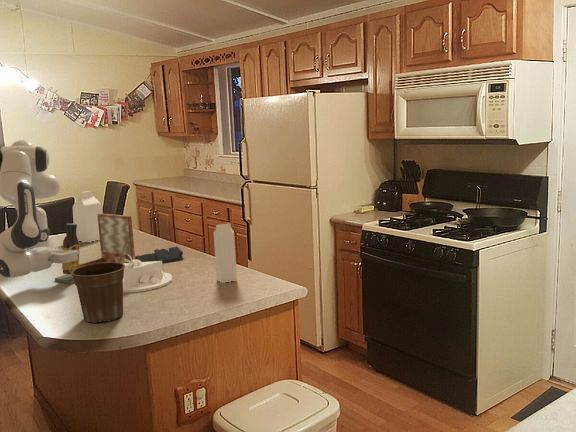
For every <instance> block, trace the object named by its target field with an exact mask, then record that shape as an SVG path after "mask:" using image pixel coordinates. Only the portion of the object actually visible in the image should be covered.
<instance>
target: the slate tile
mask: <svg viewBox="0 0 576 432" xmlns="http://www.w3.org/2000/svg"><path fill="white" fill-rule="evenodd" d="M54 282H58V283H64V284H69V285H72V284H75V282H74V278H73V276H72V275H71V274H64V275H60V276H57V277H54Z"/></svg>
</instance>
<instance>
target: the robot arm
mask: <svg viewBox="0 0 576 432" xmlns="http://www.w3.org/2000/svg"><path fill="white" fill-rule="evenodd" d="M49 165H50V155H49V152H48V151H47V149H46V148H45V147H42V146H34V145H33V144H32V143H31V142H29V141H28V140H24V139H21V140H16V141H14V142H13V143H12V144H11V145H9V146H7V145H6V146H5V145H4V146H2V145H0V197H1V198H2V199H3V200H4V201H7V202H8V203H9V204H11V206H13V207H14V208H15V210H16V213H17V218H16V221H15V222H14V224H13V225H11V226H10V227H9V228H7V229H5V230H4V231H2V232H1V233H0V275H1V276H3V277H4V278H11V279H12V278H18V277H23V276H26V275H28V274H30V273H35V272H36V273H37V272H41V271H44V270H48V269H50V268H51V267H52V265H53V263H55V264H62V263H68V262H72V261H76V260H78V254H79V255H80V249H79V250H78V249H75V250H65V249H63V247H61V248H60V247H59V248H57V247H56V248H55V247H54V244H53V238H52V237H50V235H51V234H50V228H49V227H48V218H47V212H46V211H45V210H44V208H42V207H39V206H37V205H36V200H41V199H42V200H43V199H47V198H52V197H56V196H57V195H58V194H59V193H60V189H61V184H60V180H59V179H58V178H57V177H56V176H55V175H52V174H50V173H47V172H46V170H47V169H48V167H49Z"/></svg>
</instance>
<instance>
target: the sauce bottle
mask: <svg viewBox="0 0 576 432" xmlns="http://www.w3.org/2000/svg"><path fill="white" fill-rule="evenodd" d="M65 228H66V230H65V231H66V232H65V237H64V239H63V240H62V248H63V249H65V250H75V249H78V250H79V251H80V242H79V241H78V238H77V235H76V228H77V224H74V223H65ZM79 264H80V253H79V254H78V260H76V261H72V262H68V263H62V265H61V266H62V269H61V270H62V274H64V275H66V274H71V271H73V270H74V269H76V268H78V267H79Z"/></svg>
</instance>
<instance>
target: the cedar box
mask: <svg viewBox="0 0 576 432" xmlns="http://www.w3.org/2000/svg"><path fill="white" fill-rule="evenodd" d="M97 217H98V226H99V236H100V240H99V244H100V245H99V246H100V255H101V257H99V258H96V259H92V260H89V261H85V262H81V263H79V267H81V266H85V265H89V264H95V263H104V262H115V257H118V256H120V259H119V262H121V260H122V257H123V256H126V259H128V260H130V261H131V259H130V258H129V256H128V255H127V254H129V255H130V256H131V258H132V260H135V256H136V253H135V243H134V242H135V241H134V232H133V229H134V228H133V221H132V216H131V215H123V214H122V215H121V214H113V213H112V214H111V213H103V214H100V213H99V214H97ZM126 263H129V262H126Z"/></svg>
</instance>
